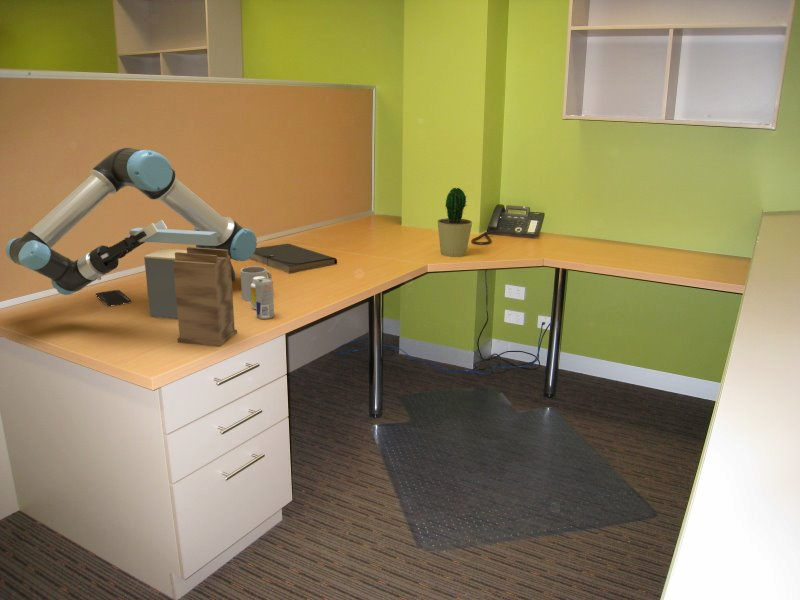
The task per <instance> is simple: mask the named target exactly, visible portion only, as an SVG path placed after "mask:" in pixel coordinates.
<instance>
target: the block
mask: <svg viewBox="0 0 800 600" xmlns="http://www.w3.org/2000/svg"><path fill="white" fill-rule="evenodd" d="M176 252H181V253H187V249H186V250H185V249H171V248H170V249H169V248H159V249H157V250H154V251H153V252H151V253H148V254H145V255H144V256H143V258H144V259H143V260H144V268H145V269H144V270H145V278H146V279H145V280H146V287H147V297H148V308H149V309H148V310H149V317H150V316H153V317H152V318H159V317H161V318H160V319H170V318H171V319H170V320H172V319H173V320H178V313H177V301H176V290H175V279H174V267H173V261H175V253H176Z"/></svg>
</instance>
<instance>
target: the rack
mask: <svg viewBox="0 0 800 600" xmlns="http://www.w3.org/2000/svg"><path fill="white" fill-rule="evenodd" d="M186 250H187V253H181V252H176V253H175V261H173V267H174V279H175V290H176V301H177V313H178V319H177V322H178V333H179V336H178V338H177V341H176V342H177V343H182V344H192V345H193V344H194V345H203V346H212V347H214V346H215V347H222V346H223V345H224V344H226V343H227V342H228V341H229V340H230V339H231V338H233V337H234V336H235V335H236V334H238V329H236V327H235V313H234V298H233V297H234V296H233V295H234V294H233V282H232V276H231V264H232V261H231V260H232V259H230V256H228V250H224V249H210V248H196V246H195V247H193V246H187V247H186Z"/></svg>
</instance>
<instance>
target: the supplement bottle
mask: <svg viewBox="0 0 800 600" xmlns="http://www.w3.org/2000/svg"><path fill="white" fill-rule="evenodd" d="M260 278H265V277H262V276H258V277H254V278H253V283H252V284H251V300H252V302H251V308H252V309H253V310H256V311H257V309H256V289H255V282H256V280H257V279H260Z"/></svg>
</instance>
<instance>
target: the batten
mask: <svg viewBox="0 0 800 600" xmlns="http://www.w3.org/2000/svg"><path fill="white" fill-rule="evenodd" d="M143 228H144V227H135V228H132V229H130V230H128V232H129V237H130V236H131V235H134V236H135V233H137V232H138V231H140V230H142V229H143ZM157 230H158V231H159V232H157V233H155V234H154V235H152V236H150V237H149V238H147V239H145V240H144V241H142V242H145V243H156V244H172V245H174V244H176V245H191V246H192V245H194V246H196V245H206V246H212V245H214V244H216V243H218V239H217V232H208V231H194V230H187V229H186V230H185V229H172V228H171V229H169V228H167V229H157ZM138 242H139V241H138Z"/></svg>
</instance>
